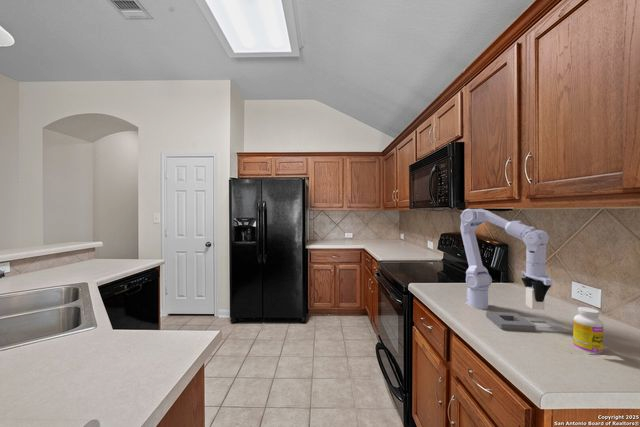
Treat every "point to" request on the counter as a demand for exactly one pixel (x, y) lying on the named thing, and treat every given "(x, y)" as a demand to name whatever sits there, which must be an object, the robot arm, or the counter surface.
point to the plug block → (533, 299)
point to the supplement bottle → (588, 331)
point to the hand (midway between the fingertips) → (535, 299)
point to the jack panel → (522, 323)
